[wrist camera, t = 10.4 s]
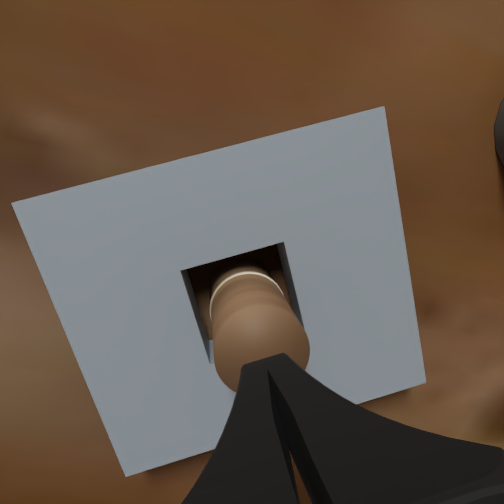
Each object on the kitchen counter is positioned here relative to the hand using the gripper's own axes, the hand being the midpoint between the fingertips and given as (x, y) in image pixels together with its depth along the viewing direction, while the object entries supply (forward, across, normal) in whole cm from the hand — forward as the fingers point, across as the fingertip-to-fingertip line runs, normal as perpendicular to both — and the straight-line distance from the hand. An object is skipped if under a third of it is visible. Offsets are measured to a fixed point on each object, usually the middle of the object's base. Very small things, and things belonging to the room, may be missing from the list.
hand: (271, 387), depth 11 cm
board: (+9, 0, 0) cm, 9 cm away
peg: (+9, 0, 0) cm, 9 cm away
